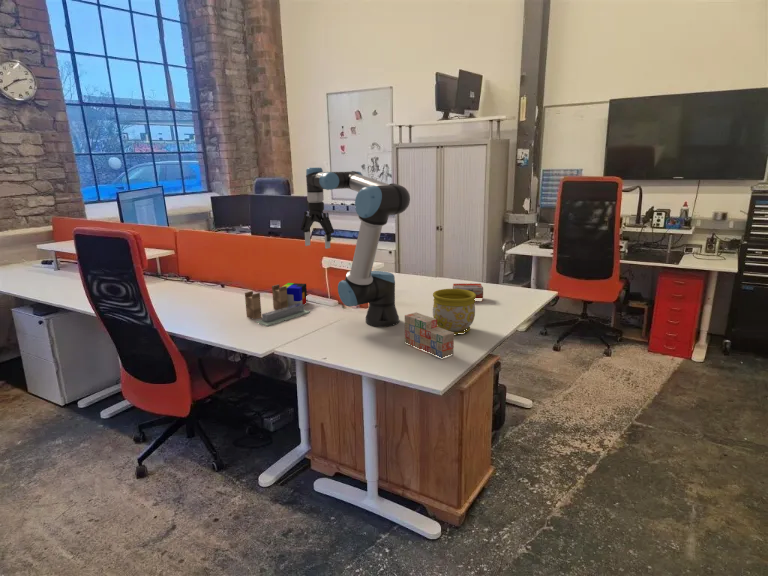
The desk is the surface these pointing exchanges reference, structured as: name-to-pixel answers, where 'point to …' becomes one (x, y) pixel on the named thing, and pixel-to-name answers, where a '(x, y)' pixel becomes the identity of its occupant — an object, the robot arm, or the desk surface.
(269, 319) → the rail
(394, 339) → the desk surface
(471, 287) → the medicine box
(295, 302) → the puzzle toy
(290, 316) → the mat
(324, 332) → the desk surface
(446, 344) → the stack of blocks
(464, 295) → the flowerpot
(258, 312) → the stand
